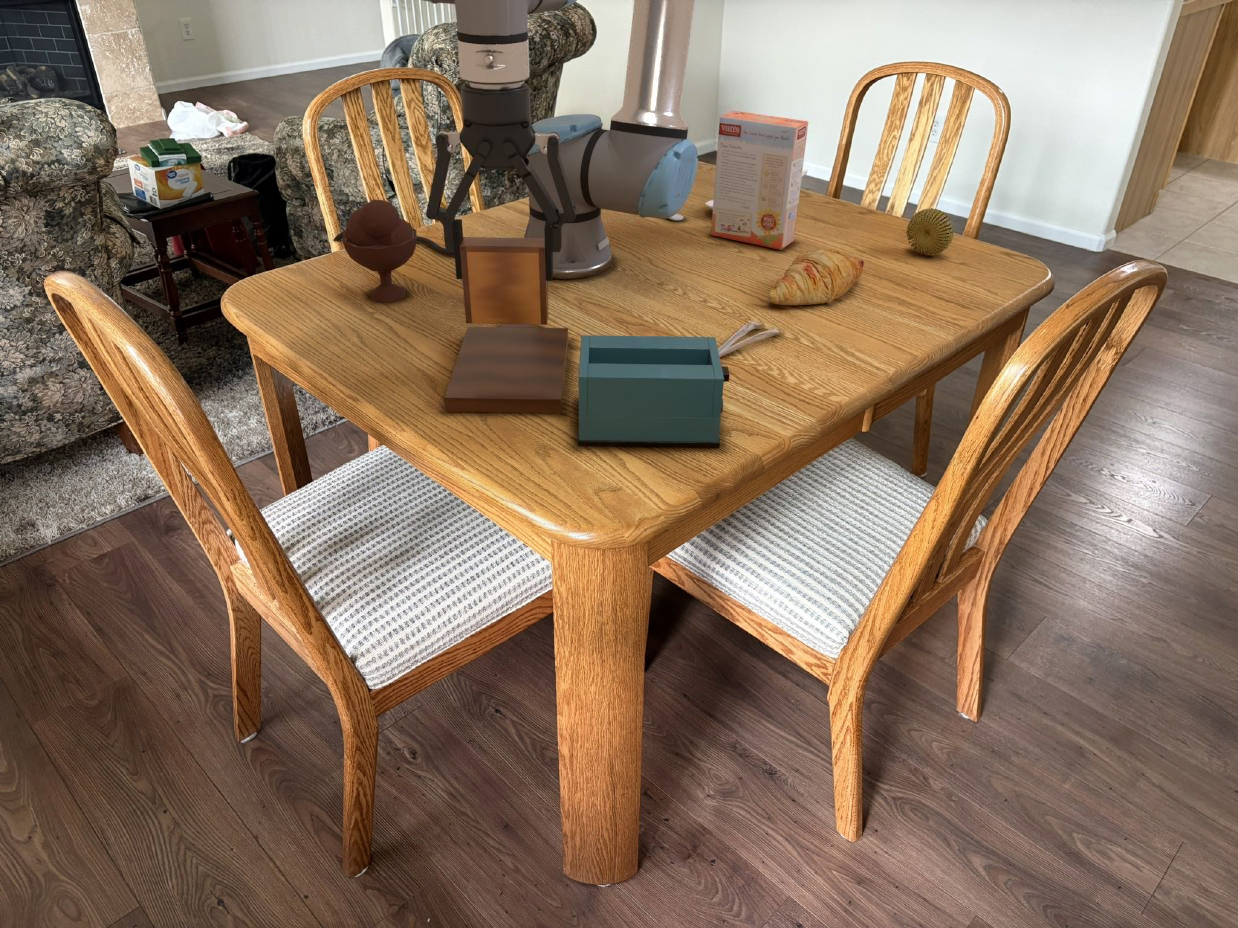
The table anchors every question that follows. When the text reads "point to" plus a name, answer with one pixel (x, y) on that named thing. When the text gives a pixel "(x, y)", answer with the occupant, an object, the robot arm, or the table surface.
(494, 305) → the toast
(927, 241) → the sea urchin shell
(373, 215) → the ice cream bowl
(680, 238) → the table surface
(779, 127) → the cracker box
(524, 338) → the bread board
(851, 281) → the croissant
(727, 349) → the tweezers
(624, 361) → the toaster
